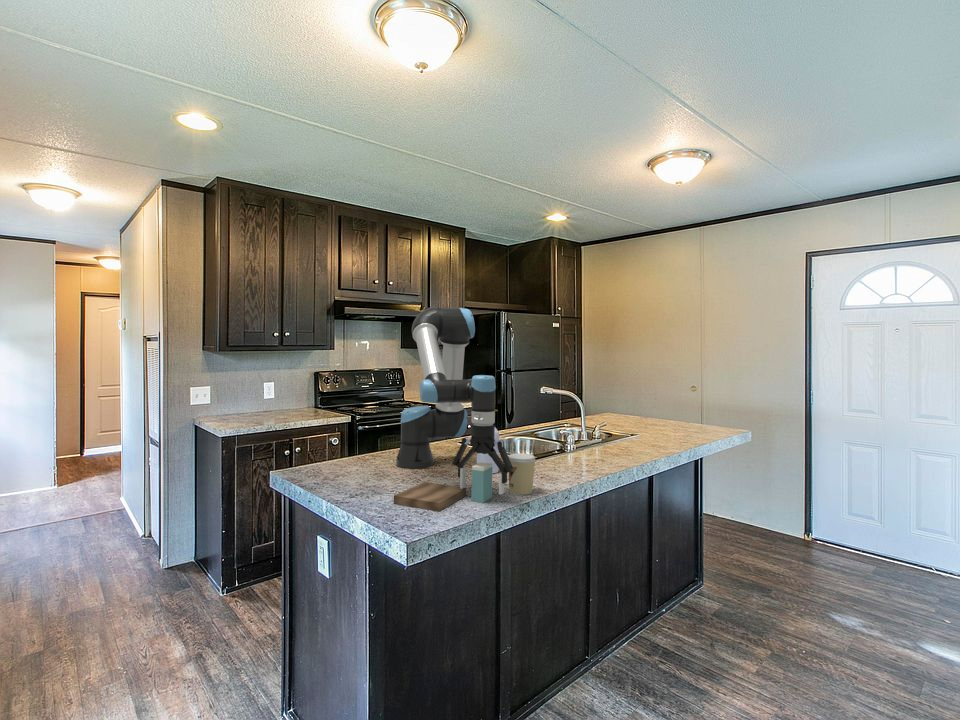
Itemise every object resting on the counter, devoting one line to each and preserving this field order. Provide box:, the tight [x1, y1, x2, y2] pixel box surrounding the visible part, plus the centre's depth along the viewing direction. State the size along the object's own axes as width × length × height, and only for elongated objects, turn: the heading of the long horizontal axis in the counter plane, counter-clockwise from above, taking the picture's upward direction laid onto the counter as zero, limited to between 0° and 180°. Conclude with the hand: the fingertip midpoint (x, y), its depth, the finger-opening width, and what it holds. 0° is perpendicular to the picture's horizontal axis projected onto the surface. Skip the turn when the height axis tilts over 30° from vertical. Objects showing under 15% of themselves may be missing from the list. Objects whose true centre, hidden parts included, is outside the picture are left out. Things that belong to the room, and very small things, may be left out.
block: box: [470, 462, 493, 504], centre depth 165 cm, size 4×7×11 cm, turn 155°
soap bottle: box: [476, 409, 500, 475], centre depth 201 cm, size 9×9×24 cm
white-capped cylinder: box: [507, 452, 536, 496], centre depth 174 cm, size 9×9×12 cm
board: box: [393, 481, 467, 512], centre depth 164 cm, size 16×18×2 cm
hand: (481, 490), depth 165 cm, fingers open, 13 cm apart
